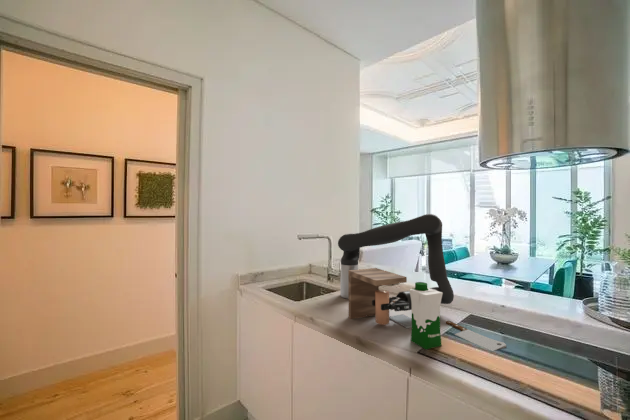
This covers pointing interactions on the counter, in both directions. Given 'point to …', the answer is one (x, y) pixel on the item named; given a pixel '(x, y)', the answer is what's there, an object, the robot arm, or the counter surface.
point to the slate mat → (402, 320)
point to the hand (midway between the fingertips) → (377, 305)
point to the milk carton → (425, 316)
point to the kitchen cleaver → (477, 338)
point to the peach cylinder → (380, 315)
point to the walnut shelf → (367, 289)
